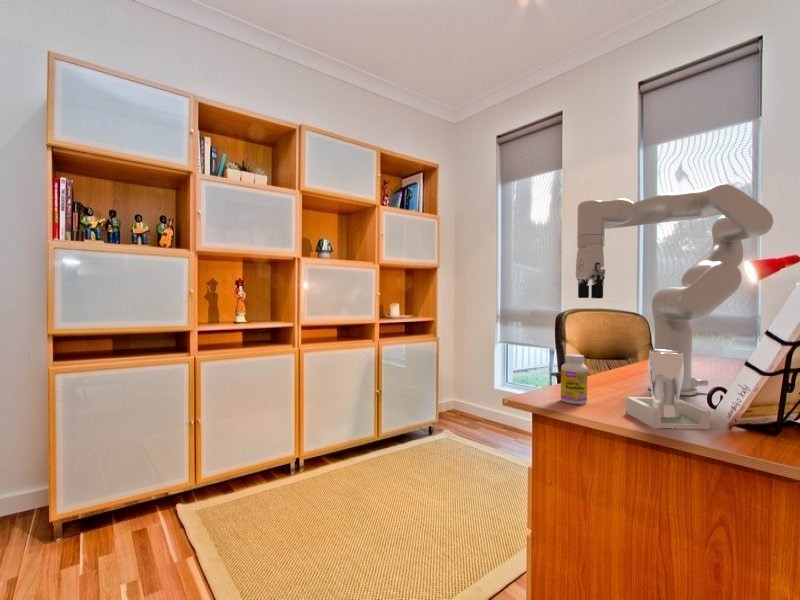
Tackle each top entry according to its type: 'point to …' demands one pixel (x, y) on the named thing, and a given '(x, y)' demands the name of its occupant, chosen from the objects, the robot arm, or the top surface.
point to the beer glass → (666, 381)
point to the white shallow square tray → (652, 417)
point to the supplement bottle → (574, 380)
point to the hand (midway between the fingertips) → (590, 298)
